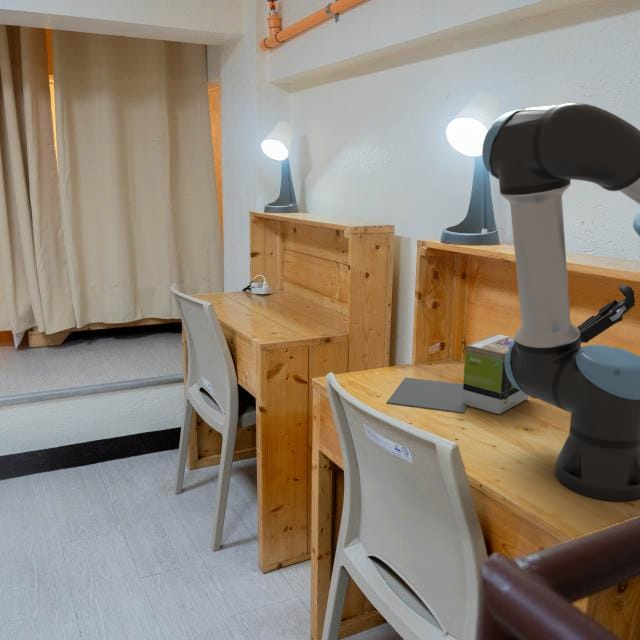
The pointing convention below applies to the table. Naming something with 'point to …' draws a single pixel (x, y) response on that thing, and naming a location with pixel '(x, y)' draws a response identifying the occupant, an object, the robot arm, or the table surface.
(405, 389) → the desk pad
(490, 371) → the tea box
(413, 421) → the table surface
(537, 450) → the table surface
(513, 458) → the table surface
